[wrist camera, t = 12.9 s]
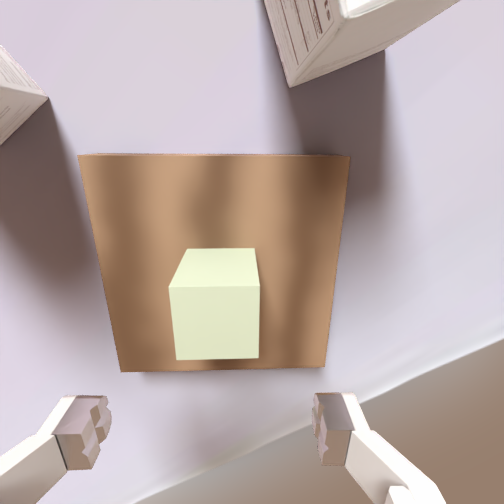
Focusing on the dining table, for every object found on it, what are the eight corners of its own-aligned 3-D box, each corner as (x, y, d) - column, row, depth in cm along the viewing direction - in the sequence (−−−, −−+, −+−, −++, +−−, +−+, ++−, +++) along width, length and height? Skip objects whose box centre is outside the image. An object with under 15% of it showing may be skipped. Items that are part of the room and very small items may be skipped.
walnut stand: (336, 154, 22) (350, 156, 19) (316, 345, 29) (324, 367, 26) (98, 153, 22) (77, 155, 19) (132, 349, 28) (120, 372, 25)
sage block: (254, 248, 22) (259, 285, 16) (253, 306, 23) (258, 358, 18) (187, 248, 21) (168, 287, 16) (191, 307, 23) (176, 360, 18)
